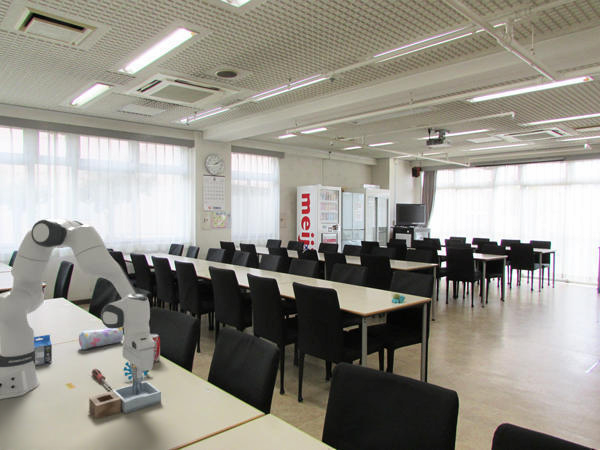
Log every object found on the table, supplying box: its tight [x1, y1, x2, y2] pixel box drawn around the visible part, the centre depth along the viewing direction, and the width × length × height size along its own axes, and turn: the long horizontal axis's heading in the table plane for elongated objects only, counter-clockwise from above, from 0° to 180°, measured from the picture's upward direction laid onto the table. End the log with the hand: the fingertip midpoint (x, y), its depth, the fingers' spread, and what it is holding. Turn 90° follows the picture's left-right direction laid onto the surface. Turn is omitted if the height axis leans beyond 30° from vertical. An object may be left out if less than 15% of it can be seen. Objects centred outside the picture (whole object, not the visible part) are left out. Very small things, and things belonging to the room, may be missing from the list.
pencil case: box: [78, 327, 124, 351], centre depth 214 cm, size 21×9×10 cm, turn 140°
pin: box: [131, 365, 142, 395], centre depth 151 cm, size 3×3×11 cm
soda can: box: [150, 333, 161, 363], centre depth 193 cm, size 7×7×12 cm
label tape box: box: [34, 334, 53, 367], centre depth 187 cm, size 9×4×12 cm, turn 131°
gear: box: [123, 361, 152, 380], centre depth 175 cm, size 11×6×10 cm
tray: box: [111, 380, 162, 414], centre depth 151 cm, size 13×13×4 cm
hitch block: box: [88, 391, 122, 420], centre depth 144 cm, size 8×8×4 cm
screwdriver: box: [91, 368, 113, 391], centre depth 167 cm, size 25×3×3 cm, turn 41°
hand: (136, 375), depth 151 cm, fingers closed on pin, 3 cm apart
